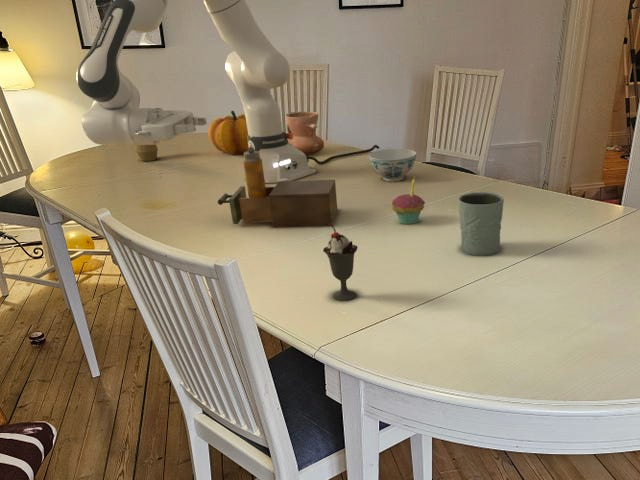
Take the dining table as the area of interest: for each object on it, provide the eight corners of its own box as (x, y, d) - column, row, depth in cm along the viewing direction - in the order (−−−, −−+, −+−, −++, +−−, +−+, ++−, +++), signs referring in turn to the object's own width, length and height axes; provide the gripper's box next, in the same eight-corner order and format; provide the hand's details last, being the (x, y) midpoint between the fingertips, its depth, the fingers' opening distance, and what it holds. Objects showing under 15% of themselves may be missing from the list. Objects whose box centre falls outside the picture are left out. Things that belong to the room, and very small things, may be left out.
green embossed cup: (490, 259, 144) (492, 206, 138) (449, 252, 149) (450, 201, 143) (508, 245, 152) (511, 194, 146) (469, 239, 157) (470, 189, 151)
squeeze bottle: (153, 162, 244) (142, 111, 235) (133, 162, 246) (122, 112, 236) (163, 157, 251) (153, 107, 242) (144, 157, 252) (133, 108, 243)
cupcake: (428, 217, 172) (427, 172, 166) (419, 228, 165) (418, 180, 159) (397, 215, 175) (396, 170, 169) (387, 225, 168) (385, 179, 162)
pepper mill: (262, 208, 179) (253, 143, 170) (272, 212, 176) (263, 146, 167) (247, 213, 176) (237, 147, 167) (257, 216, 173) (247, 149, 164)
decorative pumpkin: (202, 156, 248) (194, 115, 241) (232, 144, 266) (226, 105, 258) (247, 158, 242) (241, 116, 234) (276, 145, 259) (271, 106, 252)
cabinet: (272, 227, 171) (268, 195, 166) (282, 211, 182) (278, 181, 178) (331, 226, 170) (328, 193, 165) (337, 210, 181) (335, 179, 177)
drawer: (217, 225, 172) (213, 199, 168) (229, 210, 183) (225, 186, 179) (287, 223, 171) (284, 197, 167) (295, 208, 181) (292, 184, 178)
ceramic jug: (334, 153, 244) (330, 113, 236) (301, 160, 236) (297, 119, 229) (307, 146, 256) (303, 108, 249) (276, 153, 248) (271, 113, 241)
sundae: (327, 290, 134) (320, 219, 126) (359, 288, 134) (355, 217, 127) (327, 304, 128) (320, 231, 121) (361, 301, 128) (356, 228, 121)
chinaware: (362, 183, 205) (361, 158, 201) (380, 171, 217) (379, 147, 213) (407, 186, 200) (406, 160, 196) (423, 173, 211) (422, 149, 208)
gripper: (128, 121, 155) (184, 119, 154) (158, 107, 173) (209, 105, 172) (134, 148, 159) (189, 146, 158) (163, 131, 176) (213, 130, 175)
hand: (200, 124), depth 165 cm, fingers open, 8 cm apart
